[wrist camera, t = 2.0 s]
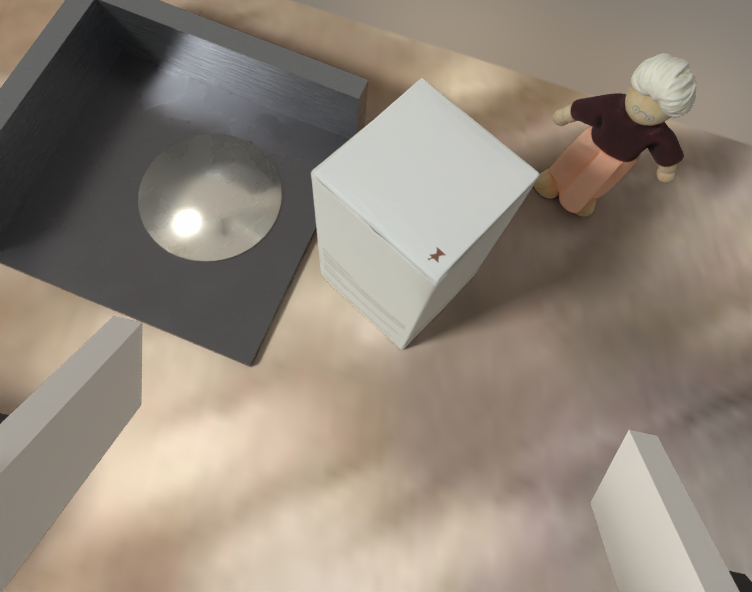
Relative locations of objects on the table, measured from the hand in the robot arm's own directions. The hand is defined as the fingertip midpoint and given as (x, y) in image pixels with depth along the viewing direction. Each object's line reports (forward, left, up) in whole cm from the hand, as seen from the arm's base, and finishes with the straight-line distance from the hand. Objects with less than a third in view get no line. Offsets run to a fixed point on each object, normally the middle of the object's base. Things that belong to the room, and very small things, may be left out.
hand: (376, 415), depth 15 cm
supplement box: (+1, -11, -19) cm, 22 cm away
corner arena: (+17, -11, -18) cm, 27 cm away
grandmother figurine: (-8, -21, -19) cm, 29 cm away
